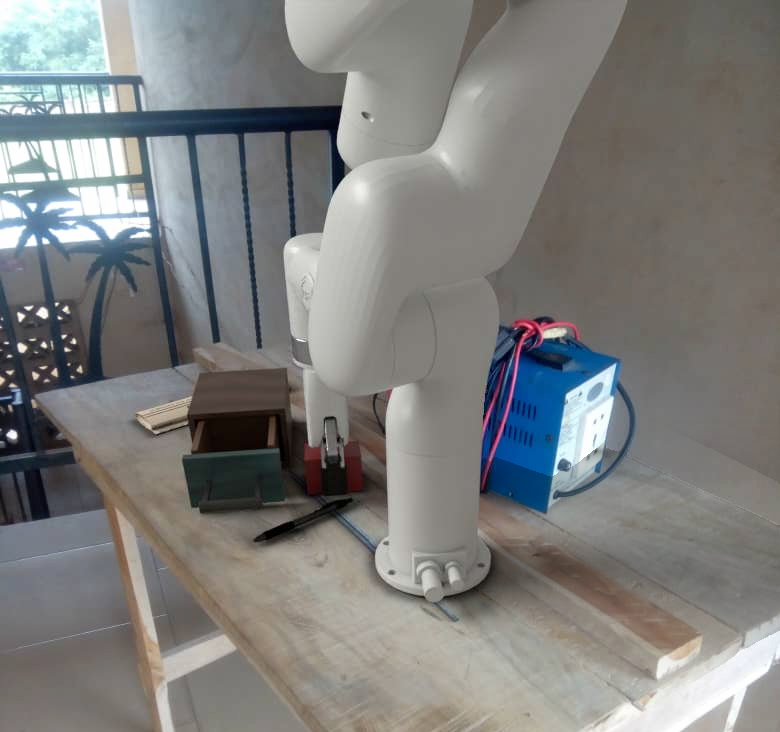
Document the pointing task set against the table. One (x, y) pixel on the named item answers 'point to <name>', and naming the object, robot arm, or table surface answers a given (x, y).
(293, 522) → the pen
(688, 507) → the table surface
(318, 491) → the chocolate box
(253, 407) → the cabinet
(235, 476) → the drawer
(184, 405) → the wooden trim moulding
